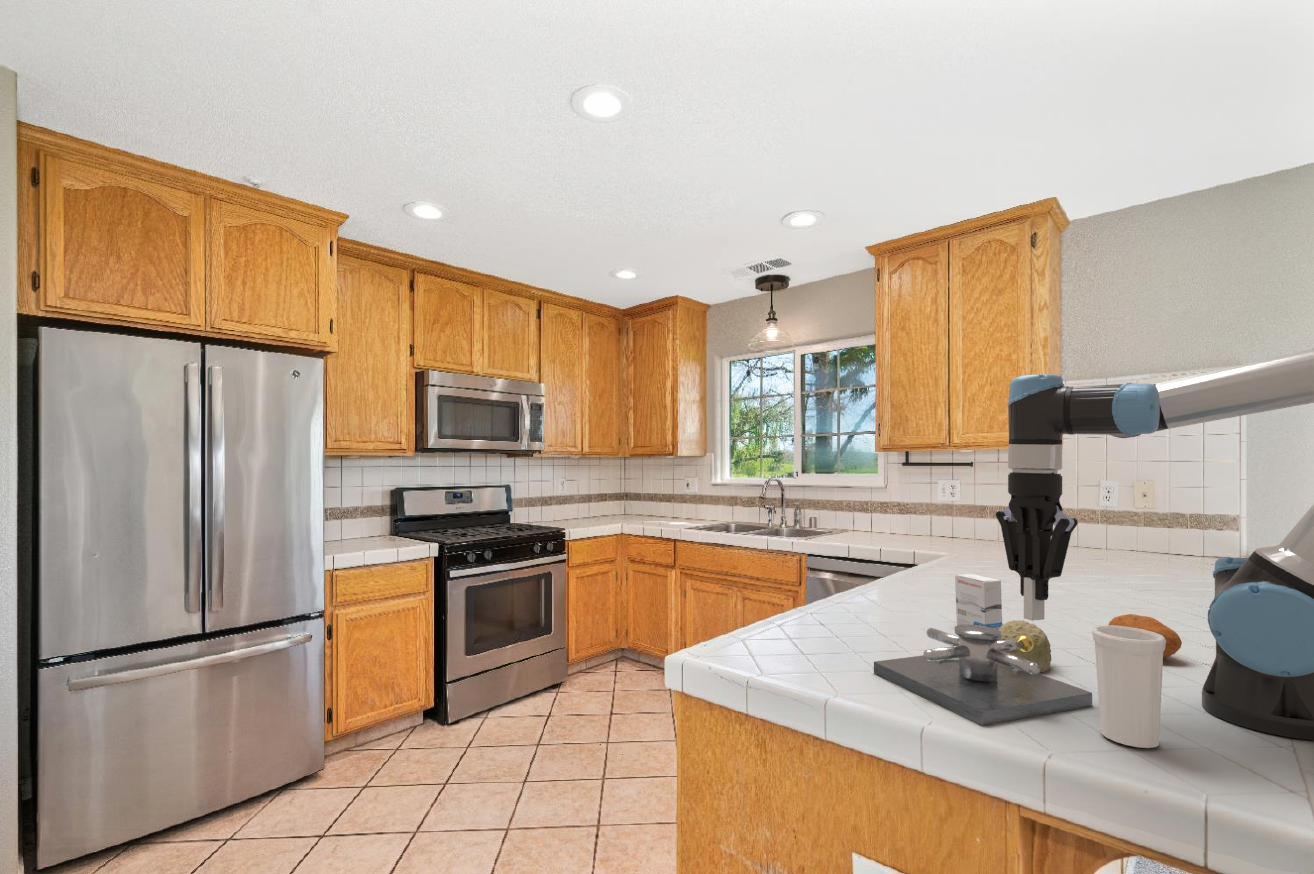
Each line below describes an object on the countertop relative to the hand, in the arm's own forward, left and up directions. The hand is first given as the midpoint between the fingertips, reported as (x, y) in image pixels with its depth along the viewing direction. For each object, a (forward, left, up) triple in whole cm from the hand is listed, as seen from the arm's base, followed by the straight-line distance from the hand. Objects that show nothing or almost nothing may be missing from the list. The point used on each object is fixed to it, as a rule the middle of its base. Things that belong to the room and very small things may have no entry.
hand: (1034, 618), depth 102 cm
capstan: (+5, +7, -10) cm, 13 cm away
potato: (+8, -38, -12) cm, 41 cm away
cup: (-16, +3, -12) cm, 21 cm away
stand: (+5, +7, -12) cm, 15 cm away
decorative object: (+12, -11, -12) cm, 20 cm away
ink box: (+32, -22, -12) cm, 41 cm away
